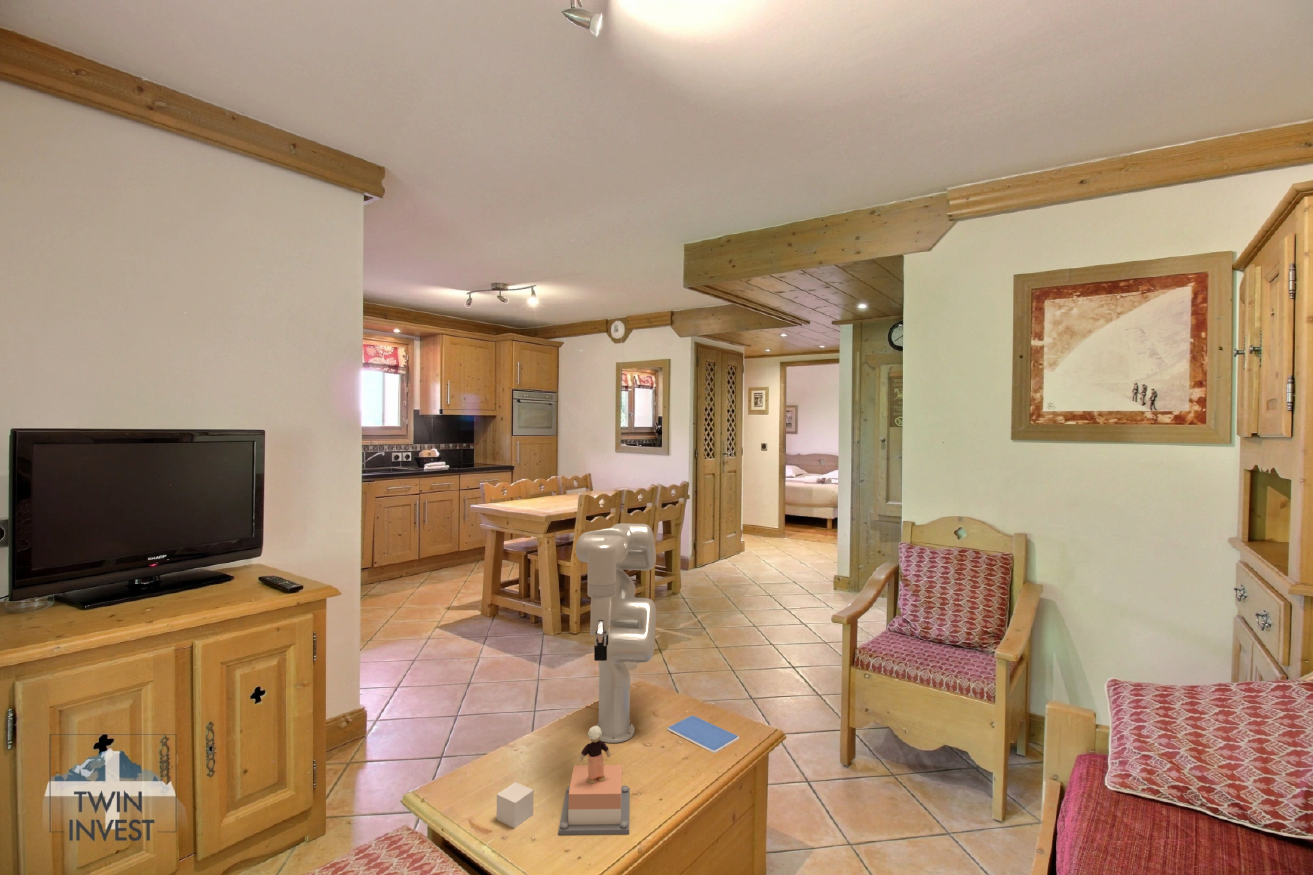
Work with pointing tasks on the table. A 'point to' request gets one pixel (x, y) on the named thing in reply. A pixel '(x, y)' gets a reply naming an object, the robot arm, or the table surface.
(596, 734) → the grandmother figurine
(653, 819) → the table surface
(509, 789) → the white cube
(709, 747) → the tablet computer
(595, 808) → the pink framed box
